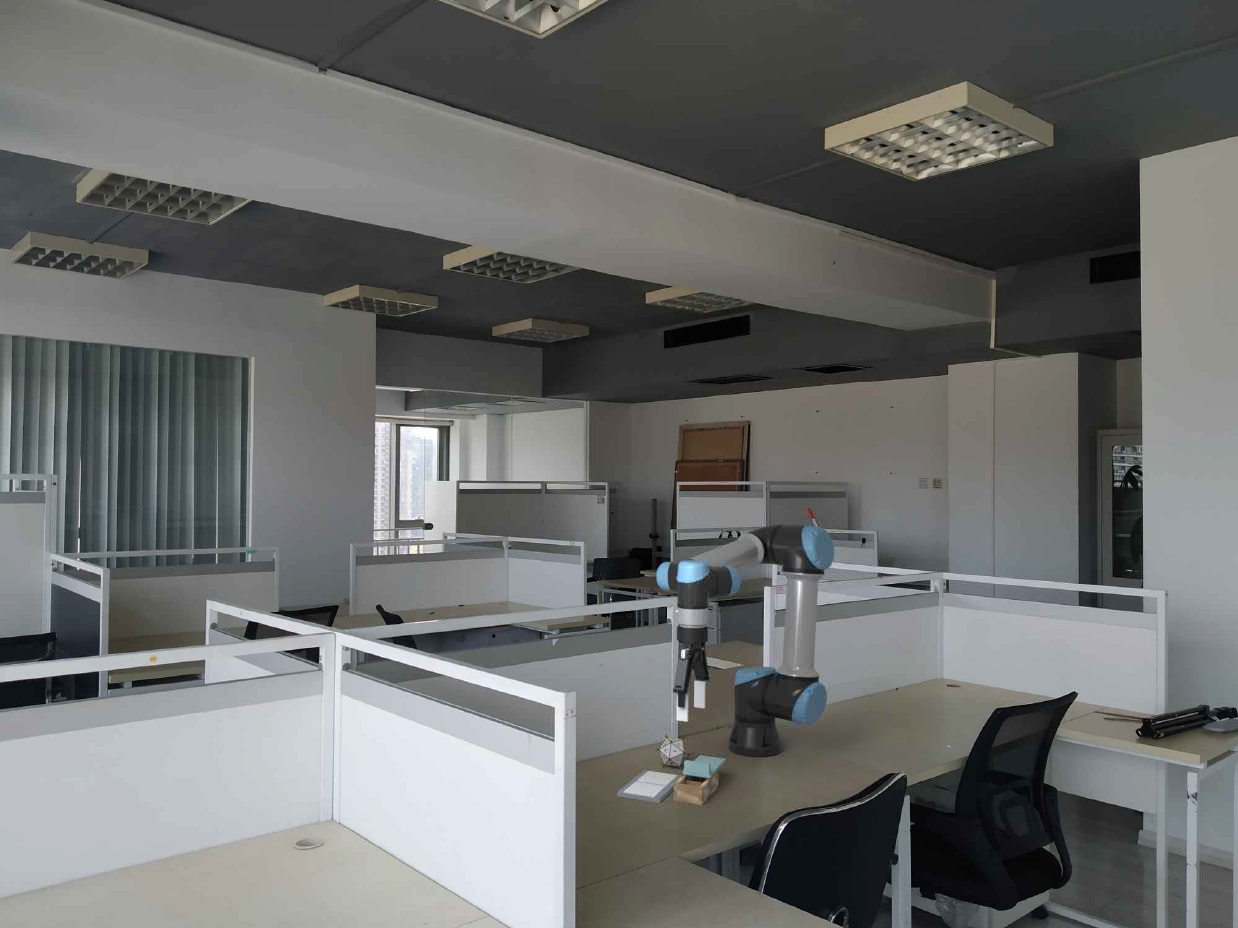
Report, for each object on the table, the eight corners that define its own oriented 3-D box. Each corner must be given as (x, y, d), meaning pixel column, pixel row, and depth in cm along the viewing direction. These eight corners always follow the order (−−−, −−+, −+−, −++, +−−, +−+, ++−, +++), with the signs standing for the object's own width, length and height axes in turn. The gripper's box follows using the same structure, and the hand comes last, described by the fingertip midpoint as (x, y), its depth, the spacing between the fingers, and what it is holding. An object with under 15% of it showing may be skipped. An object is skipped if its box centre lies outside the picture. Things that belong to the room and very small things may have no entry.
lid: (699, 758, 234) (700, 745, 234) (725, 761, 232) (726, 749, 232) (682, 774, 221) (683, 761, 221) (710, 778, 219) (710, 764, 219)
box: (691, 782, 228) (692, 766, 228) (718, 786, 225) (718, 770, 225) (673, 800, 215) (673, 783, 215) (701, 804, 212) (701, 787, 213)
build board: (643, 773, 234) (643, 769, 234) (683, 779, 230) (683, 775, 230) (617, 796, 218) (617, 791, 218) (659, 802, 213) (659, 797, 213)
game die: (674, 783, 239) (668, 759, 233) (653, 764, 245) (647, 740, 239) (698, 762, 242) (693, 738, 237) (678, 744, 248) (672, 721, 243)
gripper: (693, 616, 229) (692, 700, 229) (660, 631, 206) (659, 724, 206) (721, 619, 226) (720, 703, 226) (691, 634, 204) (690, 728, 203)
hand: (691, 713), depth 216 cm, fingers open, 13 cm apart
